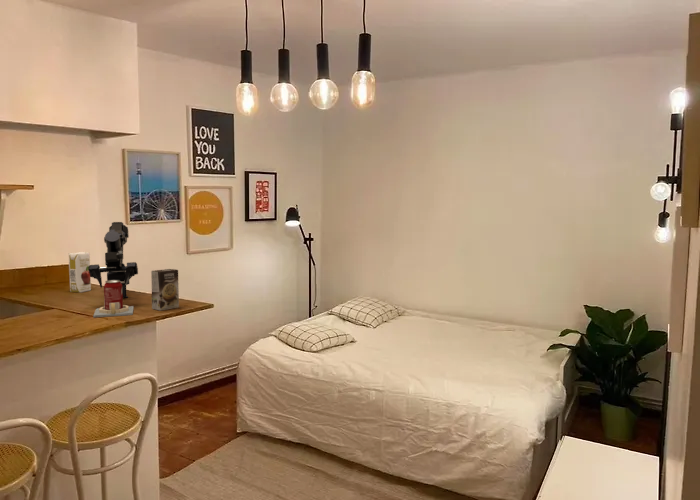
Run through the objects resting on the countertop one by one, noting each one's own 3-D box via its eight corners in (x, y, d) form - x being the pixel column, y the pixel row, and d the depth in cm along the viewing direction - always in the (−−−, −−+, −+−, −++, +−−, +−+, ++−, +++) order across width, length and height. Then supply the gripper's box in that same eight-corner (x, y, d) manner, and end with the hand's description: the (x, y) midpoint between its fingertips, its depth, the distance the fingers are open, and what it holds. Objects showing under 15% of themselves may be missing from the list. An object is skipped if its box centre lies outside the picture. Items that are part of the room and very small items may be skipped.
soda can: (121, 311, 209) (120, 282, 208) (103, 312, 207) (102, 282, 206) (124, 308, 216) (123, 279, 214) (106, 309, 214) (105, 280, 213)
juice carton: (67, 292, 256) (65, 253, 254) (81, 289, 264) (79, 251, 262) (80, 293, 254) (78, 253, 252) (93, 290, 262) (92, 252, 260)
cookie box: (160, 310, 215) (159, 271, 214) (151, 308, 219) (150, 270, 218) (179, 307, 222) (178, 269, 221) (170, 305, 226) (169, 268, 225)
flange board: (96, 310, 216) (96, 298, 215) (133, 307, 221) (133, 296, 220) (93, 317, 203) (92, 305, 202) (132, 314, 208) (132, 302, 207)
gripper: (87, 245, 218) (84, 276, 209) (135, 243, 224) (135, 273, 215) (91, 261, 227) (89, 292, 218) (138, 259, 232) (138, 288, 223)
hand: (113, 286), depth 218 cm, fingers open, 9 cm apart
